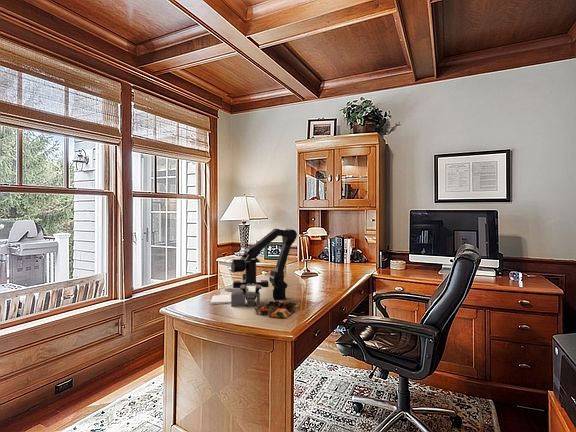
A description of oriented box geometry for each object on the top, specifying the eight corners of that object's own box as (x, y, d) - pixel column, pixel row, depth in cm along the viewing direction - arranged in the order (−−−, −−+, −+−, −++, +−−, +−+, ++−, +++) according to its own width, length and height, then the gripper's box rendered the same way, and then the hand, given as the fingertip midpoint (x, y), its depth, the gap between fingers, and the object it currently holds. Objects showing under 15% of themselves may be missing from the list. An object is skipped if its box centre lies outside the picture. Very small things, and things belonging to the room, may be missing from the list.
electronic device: (226, 274, 215) (249, 275, 211) (227, 290, 215) (249, 291, 211) (222, 276, 210) (245, 276, 206) (223, 292, 210) (246, 293, 206)
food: (269, 304, 183) (269, 297, 183) (303, 308, 177) (303, 301, 176) (250, 316, 163) (250, 308, 163) (287, 321, 156) (287, 313, 156)
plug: (254, 300, 189) (254, 293, 189) (254, 306, 177) (254, 298, 177) (247, 300, 189) (247, 293, 189) (246, 306, 177) (246, 298, 177)
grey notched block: (259, 302, 184) (259, 291, 184) (259, 305, 179) (259, 293, 179) (231, 303, 182) (231, 292, 182) (231, 306, 177) (231, 294, 177)
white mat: (234, 296, 197) (234, 295, 197) (233, 303, 183) (233, 301, 183) (212, 297, 195) (212, 295, 195) (210, 304, 182) (210, 302, 181)
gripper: (267, 268, 195) (267, 295, 195) (233, 268, 193) (233, 296, 193) (268, 271, 184) (268, 301, 184) (233, 272, 182) (232, 302, 182)
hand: (250, 300), depth 186 cm, fingers closed on plug, 4 cm apart
